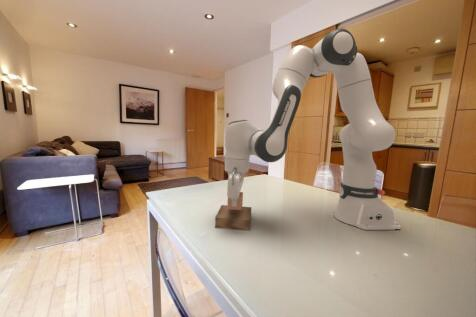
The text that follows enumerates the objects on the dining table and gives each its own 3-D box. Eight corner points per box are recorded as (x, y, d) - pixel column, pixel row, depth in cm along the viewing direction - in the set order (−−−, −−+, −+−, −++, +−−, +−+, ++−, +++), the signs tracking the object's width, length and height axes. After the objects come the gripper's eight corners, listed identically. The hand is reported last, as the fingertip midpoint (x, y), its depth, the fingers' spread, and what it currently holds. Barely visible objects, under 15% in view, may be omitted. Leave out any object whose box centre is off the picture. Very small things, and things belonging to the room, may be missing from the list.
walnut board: (251, 216, 82) (251, 207, 81) (249, 231, 70) (250, 220, 69) (221, 214, 83) (221, 205, 82) (215, 228, 71) (215, 217, 71)
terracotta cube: (242, 205, 78) (242, 192, 77) (241, 210, 73) (241, 196, 72) (229, 204, 78) (229, 191, 78) (227, 209, 73) (227, 195, 73)
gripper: (243, 171, 63) (241, 214, 65) (247, 162, 83) (245, 195, 85) (223, 170, 64) (221, 213, 66) (231, 161, 84) (230, 194, 86)
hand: (235, 202), depth 75 cm, fingers closed on terracotta cube, 5 cm apart
